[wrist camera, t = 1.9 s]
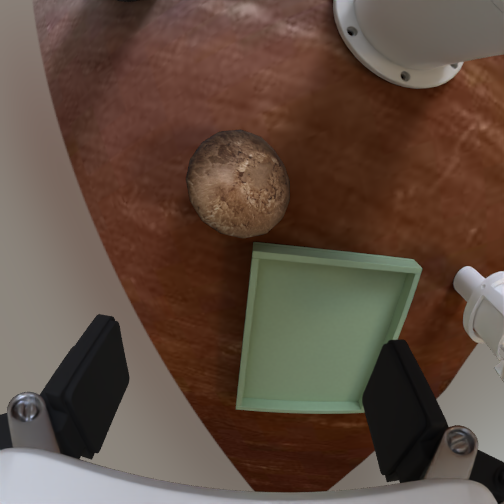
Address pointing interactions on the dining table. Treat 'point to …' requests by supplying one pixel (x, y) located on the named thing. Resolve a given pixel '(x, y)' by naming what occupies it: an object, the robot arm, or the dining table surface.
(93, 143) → the dining table surface
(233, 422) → the dining table surface
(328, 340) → the tray
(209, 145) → the mushroom
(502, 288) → the white open cylindrical frame
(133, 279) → the dining table surface
